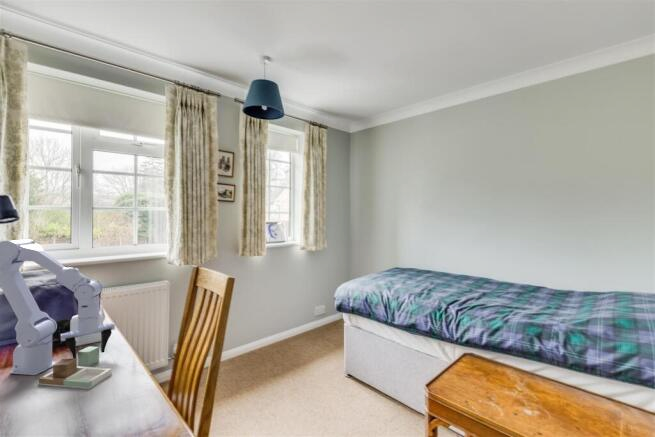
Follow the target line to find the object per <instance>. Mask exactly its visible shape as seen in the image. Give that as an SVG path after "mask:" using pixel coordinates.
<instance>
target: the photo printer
mask: <svg viewBox="0 0 655 437" xmlns="http://www.w3.org/2000/svg"><path fill="white" fill-rule="evenodd" d="M103 322H104V317H103V314H102V312H101V311H99V325H103V324H104V323H103ZM77 329H78V314H76V315H73V316H72V317H71V319H70V332H71V331H74V330H77ZM75 341H76V347H77V346H85V345H89V344H94V343H98V342H101V332H98V333H94V334H89V335H85V336H80V337H76V338H75Z"/></svg>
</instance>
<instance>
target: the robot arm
mask: <svg viewBox="0 0 655 437" xmlns="http://www.w3.org/2000/svg"><path fill="white" fill-rule="evenodd" d="M25 262H34V263H35V264H37V265H38V266H40V267H42V268H44V269H45V270H47V271H49V272H50V273H52V274H53V275H55V277H56V280H55V281H56V282H58V283H60V285H62V286H63V287H66V288H67V289H68V290H70V291H72V293H73V296H74V298H75V299H76V300H77V303H78V304H77V315H78V329H77V330H74V331H71V332H67V333H63V334H61V341H65V342H66V344H67V345H66V346H67V347H68V349H69V351H70V352H71V354H72V358H77V353H76V351H77V350H76V347H77V346H76V341H75V338H76V337H80V336H85V335H89V334H94V333H98V332H101V341H100V342H101V345H100V346H101V347H100V352H101V353H105V350H106V348H107V347H106V346H107V343H108V341H109V339H110V337H111V335H112V331H114V330H116V324H115V323H114V322H111V323H106V324H105V323H103V325H99V312H100V293H101V292H102V290H103V284H102V283H101V282H100V281H99V280H96V279H92V278H91V277H87V276H86V275H84V274H83V273H82V272H80V269H79V268H77V267H75V268H74V267H73V266H71V267H70V266H69V267H66V266H65V265H63V264H62V263H61V262H60V261H58V259H56V258H55V257H54V256H52V255H51V254H50V253H48V252H47V251H46V250H45V249H44V248H43V247H42V246H41V245H40V244H38V243H36V242H35V241H34V240H33V239H30V238H21V239H14V240H1V241H0V289H2V292H3V293H4V296H5V297H6V300H7V301H8V304H9V306H10V307H11V309H12V311H13V312H14V314H15V317H16V319H17V323H16V325H15V327H14V330H15V334H16V335H15V339H16V342H17V344H18V345H17V346H16V347H15V349H14V350H13V353H12V370H11V371H9V374H12V375H13V374H14V375H16V374H17V375H25V376H26V375H28V376H37V375H39V374H41V373H42V372H44V371H46V370H49V369H51V368H53V365H54V364H56V363H57V362H58V361H54V360H53V348H52V341H53V337H52V334H53V333H54V332H55V331H56V329H57V323H56V320H55V319H53V318H52V317H50V316H49V313H48V312H47V313H46V312H45V311H42V310H41V309H40V308H39V307H40V306H39V305H38V303H37V302H36V300H35V297H34V296H33V294H32V292H31V290H30V288H29V286H28V285H27V282H26V281H25V280H26V279H24V276H23V275H22V274H21V271H20V268H21V267H22V266H23V264H24V263H25Z"/></svg>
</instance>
